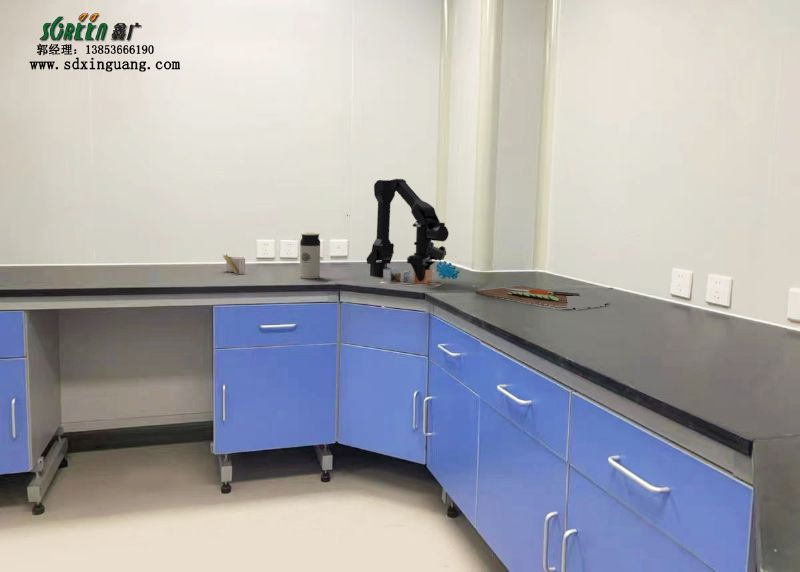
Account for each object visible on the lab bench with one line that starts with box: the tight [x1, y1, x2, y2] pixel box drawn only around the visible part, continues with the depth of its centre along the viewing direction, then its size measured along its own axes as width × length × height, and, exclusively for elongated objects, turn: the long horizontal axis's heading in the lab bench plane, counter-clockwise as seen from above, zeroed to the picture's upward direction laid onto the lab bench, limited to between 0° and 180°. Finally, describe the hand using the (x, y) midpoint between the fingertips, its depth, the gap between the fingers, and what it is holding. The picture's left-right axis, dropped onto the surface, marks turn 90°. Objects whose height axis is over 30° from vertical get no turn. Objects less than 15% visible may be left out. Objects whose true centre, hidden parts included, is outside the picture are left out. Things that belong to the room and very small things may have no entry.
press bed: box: [379, 280, 444, 289], centre depth 257 cm, size 22×12×2 cm, turn 68°
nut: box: [394, 272, 401, 282], centre depth 259 cm, size 4×4×4 cm
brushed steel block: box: [382, 266, 400, 284], centre depth 260 cm, size 3×8×5 cm, turn 158°
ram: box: [400, 268, 433, 285], centre depth 256 cm, size 10×7×5 cm
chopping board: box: [475, 285, 581, 308], centre depth 237 cm, size 45×27×3 cm, turn 38°
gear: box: [435, 260, 461, 280], centre depth 278 cm, size 11×6×10 cm
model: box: [222, 253, 246, 275], centre depth 282 cm, size 3×11×8 cm, turn 57°
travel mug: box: [299, 232, 321, 280], centre depth 272 cm, size 8×8×18 cm
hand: (422, 280), depth 255 cm, fingers open, 5 cm apart
